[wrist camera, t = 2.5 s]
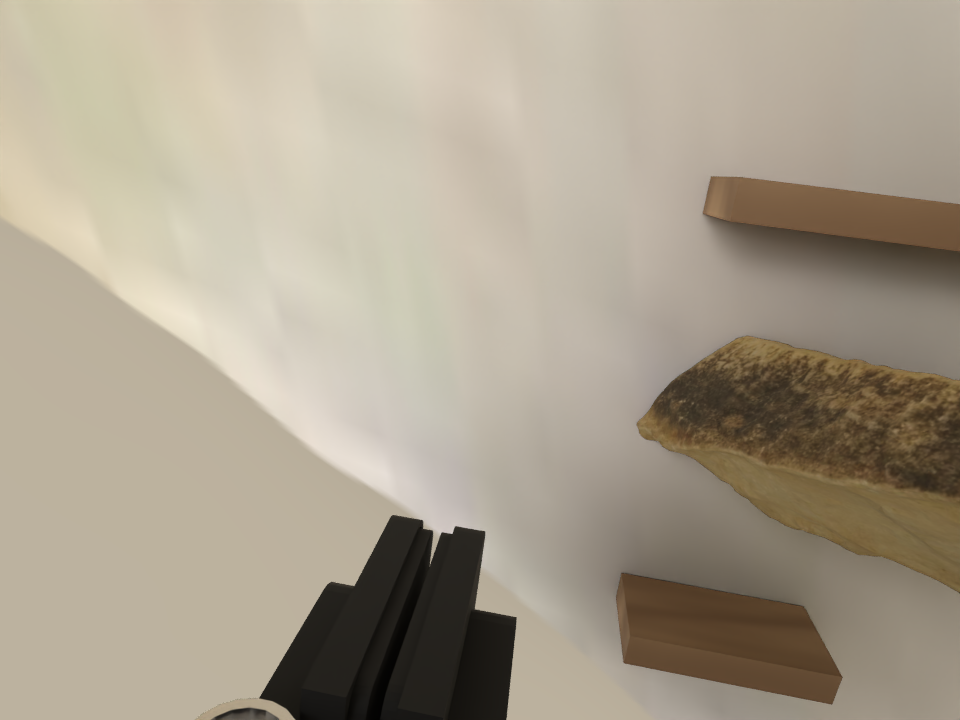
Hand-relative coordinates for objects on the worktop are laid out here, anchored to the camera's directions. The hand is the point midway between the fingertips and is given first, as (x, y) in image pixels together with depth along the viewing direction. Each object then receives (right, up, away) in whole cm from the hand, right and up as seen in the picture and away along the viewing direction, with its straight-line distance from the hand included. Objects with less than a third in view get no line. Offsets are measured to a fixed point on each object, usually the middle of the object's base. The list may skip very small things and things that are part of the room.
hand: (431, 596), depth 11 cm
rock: (+12, +2, +8) cm, 14 cm away
